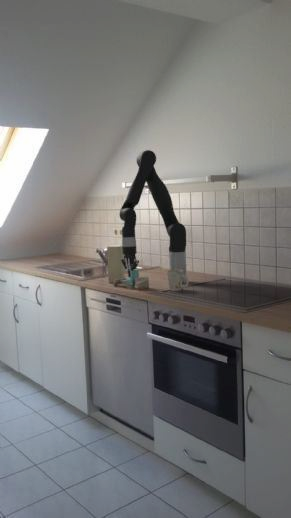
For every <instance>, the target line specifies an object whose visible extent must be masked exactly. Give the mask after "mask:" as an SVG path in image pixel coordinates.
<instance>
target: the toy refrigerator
mask: <svg viewBox="0 0 291 518" xmlns="http://www.w3.org/2000/svg"><path fill="white" fill-rule="evenodd" d="M106 251H107V252H106V254H107V275H108V276H107V277H108V284H114V281H113V280H115V279H121V278H126V275H125V267H124V265H123V264H122V262H121V260H123V259H124V254H123V250H122V244H121V245H116V244H115V245H107V247H106Z"/></svg>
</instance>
